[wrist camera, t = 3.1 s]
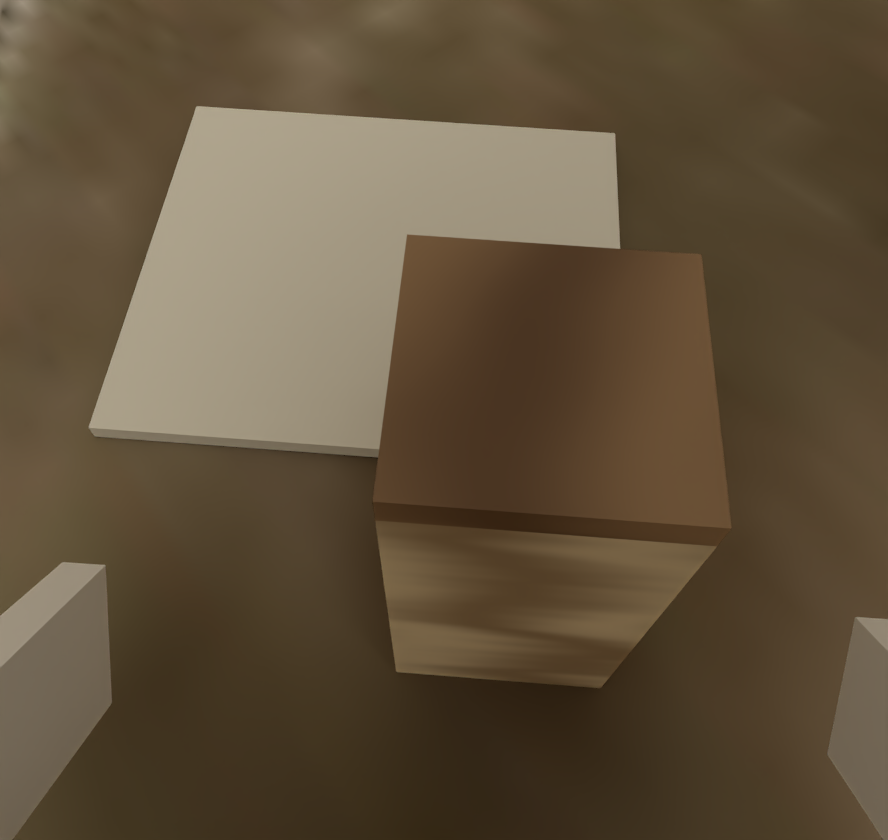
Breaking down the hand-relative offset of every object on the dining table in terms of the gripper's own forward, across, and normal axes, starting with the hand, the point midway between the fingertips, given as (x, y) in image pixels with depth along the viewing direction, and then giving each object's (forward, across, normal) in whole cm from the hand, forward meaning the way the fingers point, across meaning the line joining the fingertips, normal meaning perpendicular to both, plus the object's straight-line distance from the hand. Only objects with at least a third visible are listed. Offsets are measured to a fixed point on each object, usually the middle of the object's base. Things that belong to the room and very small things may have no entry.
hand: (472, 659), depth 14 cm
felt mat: (+19, -4, +5) cm, 20 cm away
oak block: (+11, +1, -4) cm, 11 cm away
